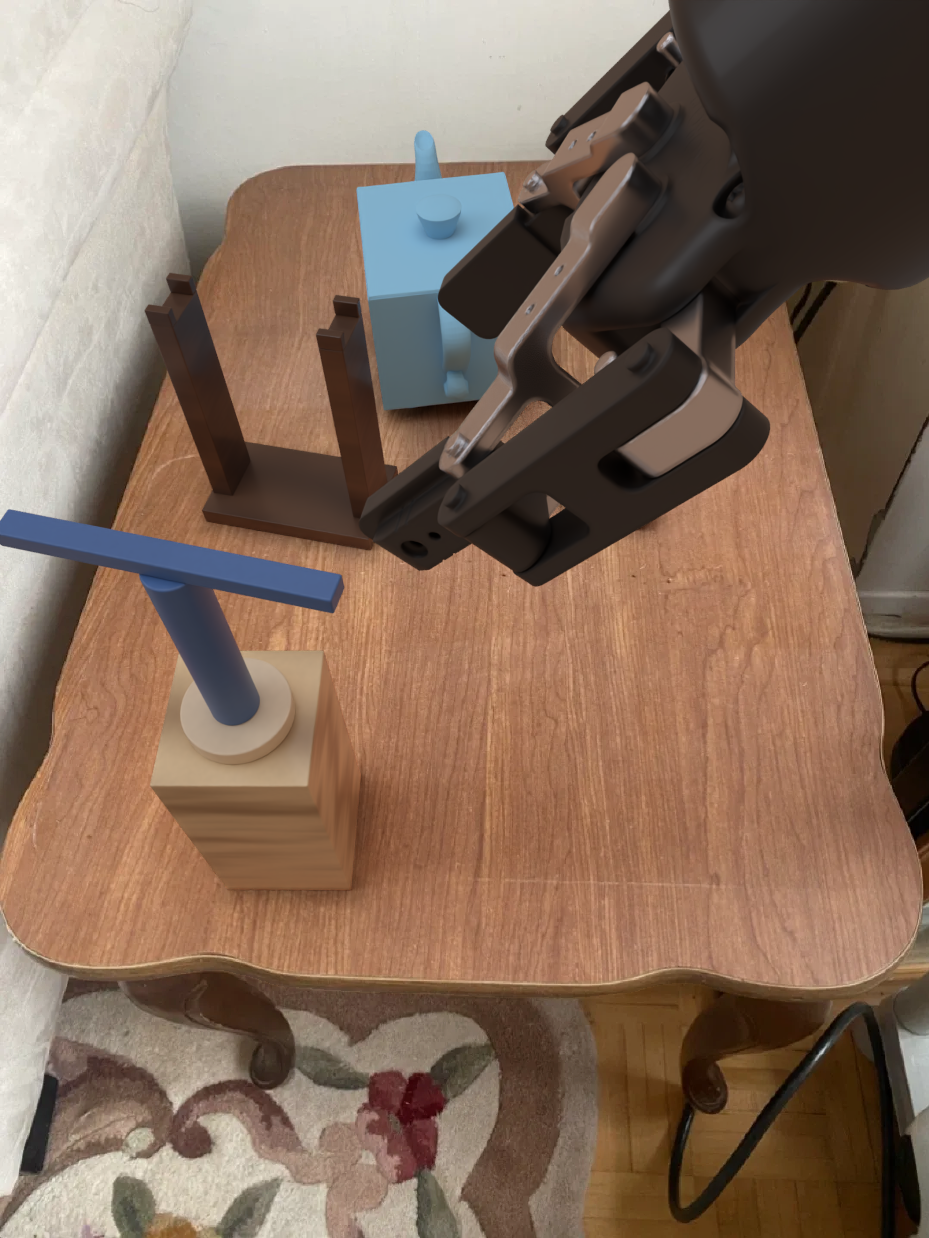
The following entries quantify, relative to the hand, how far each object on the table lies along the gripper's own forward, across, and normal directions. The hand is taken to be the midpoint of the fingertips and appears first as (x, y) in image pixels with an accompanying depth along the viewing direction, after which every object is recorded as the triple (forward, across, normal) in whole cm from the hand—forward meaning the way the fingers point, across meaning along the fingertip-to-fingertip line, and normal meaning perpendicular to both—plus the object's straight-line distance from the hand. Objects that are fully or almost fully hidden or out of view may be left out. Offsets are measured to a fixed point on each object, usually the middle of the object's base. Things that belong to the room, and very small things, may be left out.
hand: (429, 417), depth 26 cm
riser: (+32, +1, +14) cm, 35 cm away
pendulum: (+22, +1, +5) cm, 22 cm away
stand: (+37, -24, +9) cm, 45 cm away
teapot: (+33, -41, +14) cm, 55 cm away
